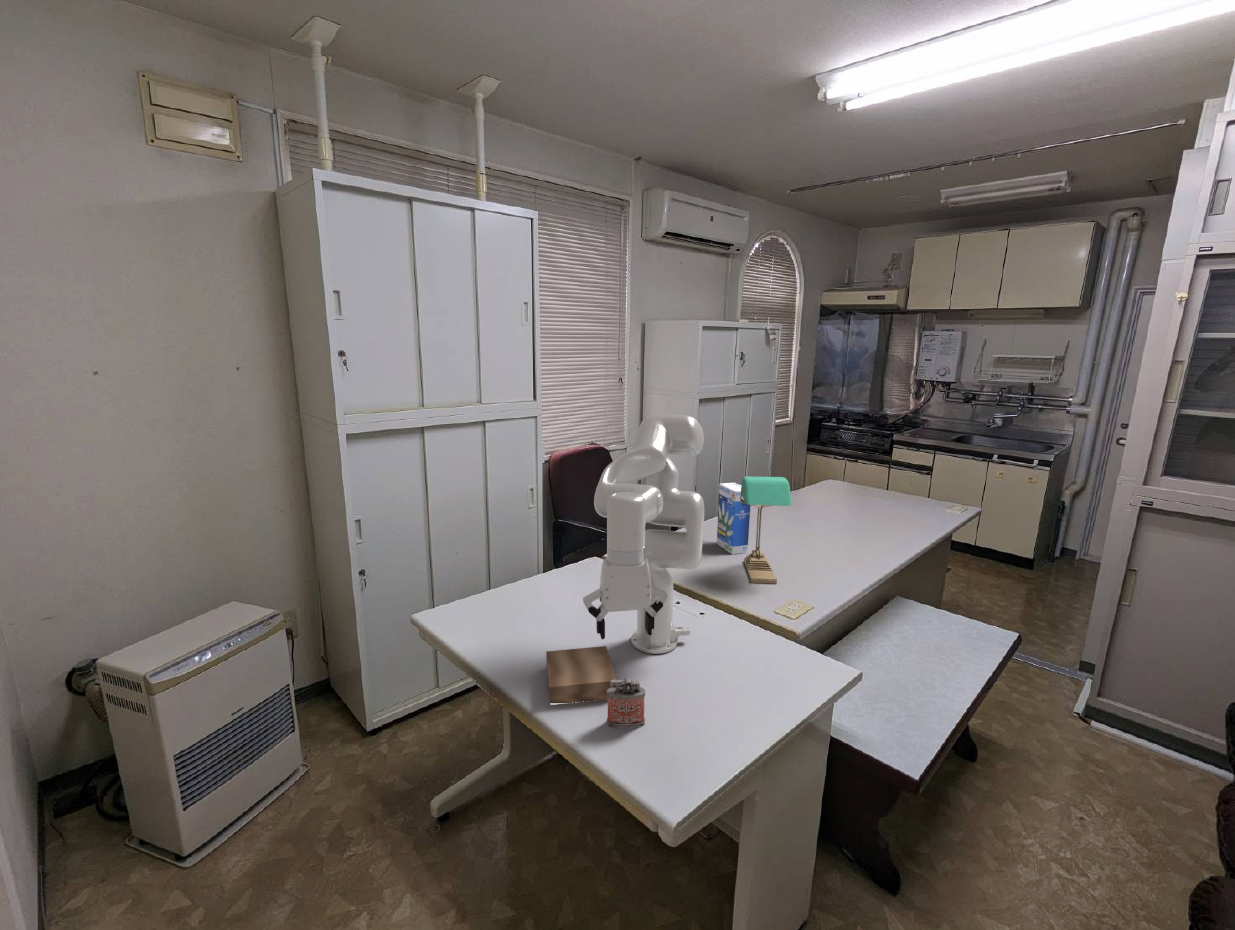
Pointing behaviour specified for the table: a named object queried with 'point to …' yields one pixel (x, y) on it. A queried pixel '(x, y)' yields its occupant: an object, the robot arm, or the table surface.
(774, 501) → the banker's lamp
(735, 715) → the table surface
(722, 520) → the string lights box
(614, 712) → the lighter
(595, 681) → the walnut block
